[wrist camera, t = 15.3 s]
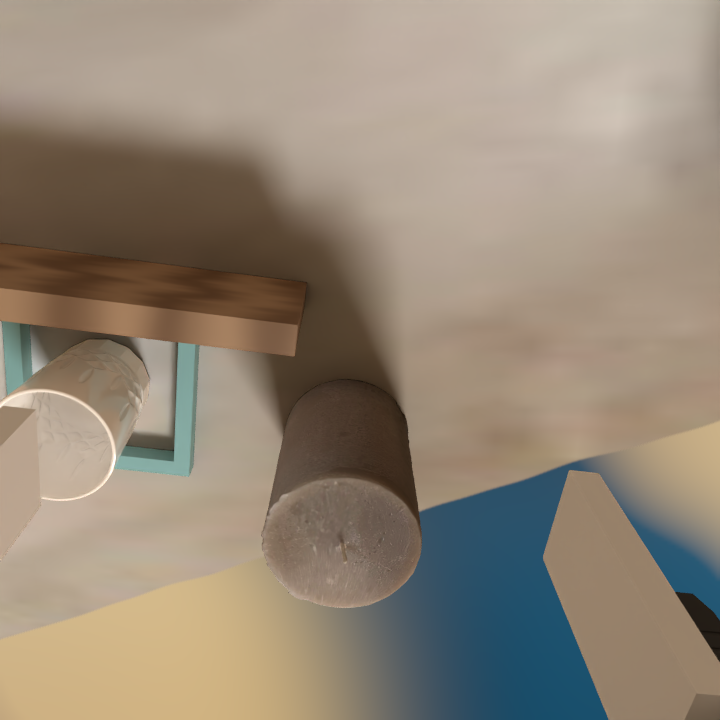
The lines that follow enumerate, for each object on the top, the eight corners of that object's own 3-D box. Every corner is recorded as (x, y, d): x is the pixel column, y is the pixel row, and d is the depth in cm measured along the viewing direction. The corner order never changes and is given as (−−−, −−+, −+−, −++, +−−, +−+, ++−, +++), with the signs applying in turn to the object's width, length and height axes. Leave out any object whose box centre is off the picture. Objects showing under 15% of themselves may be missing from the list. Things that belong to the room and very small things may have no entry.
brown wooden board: (-98, 258, 46) (-197, 296, 38) (-102, 229, 45) (-203, 262, 37) (303, 309, 48) (294, 356, 40) (306, 282, 47) (297, 325, 39)
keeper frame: (20, 447, 52) (11, 457, 51) (10, 283, 47) (-1, 289, 46) (193, 466, 53) (189, 476, 51) (201, 307, 48) (196, 313, 46)
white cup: (123, 444, 52) (75, 522, 43) (32, 387, 50) (-39, 456, 41) (178, 371, 50) (139, 437, 41) (85, 309, 48) (22, 363, 39)
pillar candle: (431, 414, 51) (458, 533, 38) (367, 506, 55) (371, 648, 41) (320, 356, 50) (307, 459, 36) (261, 455, 53) (227, 585, 39)
